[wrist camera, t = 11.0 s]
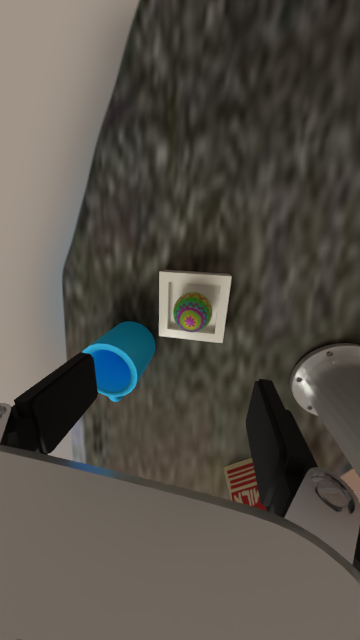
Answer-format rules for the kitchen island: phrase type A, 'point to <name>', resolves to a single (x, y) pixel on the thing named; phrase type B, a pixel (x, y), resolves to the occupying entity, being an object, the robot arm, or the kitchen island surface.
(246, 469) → the milk carton
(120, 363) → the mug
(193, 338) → the square tray
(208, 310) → the egg
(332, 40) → the kitchen island surface
